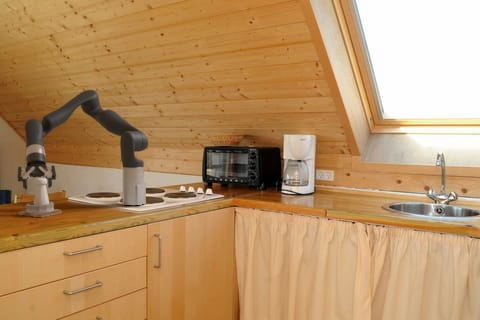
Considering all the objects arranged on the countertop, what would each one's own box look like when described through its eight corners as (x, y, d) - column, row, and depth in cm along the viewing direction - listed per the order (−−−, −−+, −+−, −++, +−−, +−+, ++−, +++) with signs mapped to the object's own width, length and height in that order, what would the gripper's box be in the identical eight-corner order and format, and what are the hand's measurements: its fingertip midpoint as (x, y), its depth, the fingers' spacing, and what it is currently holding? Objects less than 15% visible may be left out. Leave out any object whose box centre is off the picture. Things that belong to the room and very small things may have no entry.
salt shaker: (30, 211, 159) (29, 178, 158) (41, 208, 164) (41, 177, 163) (41, 212, 157) (40, 179, 156) (52, 209, 162) (52, 177, 161)
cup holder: (61, 212, 162) (61, 202, 162) (40, 217, 153) (40, 206, 152) (39, 210, 166) (39, 200, 166) (18, 214, 157) (17, 204, 157)
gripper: (53, 162, 178) (56, 191, 169) (17, 163, 171) (18, 194, 162) (54, 151, 173) (57, 180, 164) (16, 152, 166) (17, 183, 157)
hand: (37, 187), depth 163 cm, fingers open, 8 cm apart
